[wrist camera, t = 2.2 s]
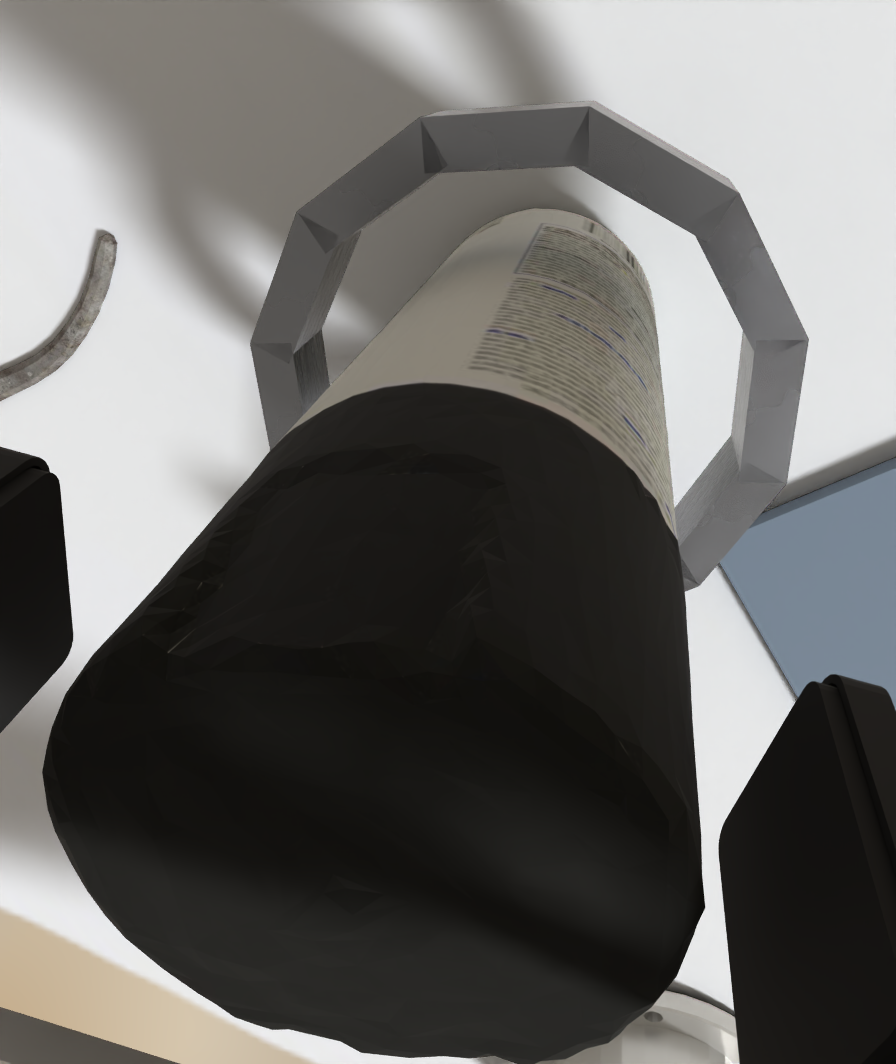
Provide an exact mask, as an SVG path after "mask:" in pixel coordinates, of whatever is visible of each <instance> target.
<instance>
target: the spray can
mask: <svg viewBox="0 0 896 1064" xmlns="http://www.w3.org/2000/svg"><path fill="white" fill-rule="evenodd" d="M42 773H43V780H44V786H45V793H46V800H47V807H48V811H49V814H50V817H51V820H52V823H53V826H54V829H55V832H56V834H57V836H58V838H59V840H60V842H61V844H62V846H63V848H64V850H65V852H66V854H67V856H68V858H69V860H70V862H71V864H72V866H73V867H74V869H75V871H76V872H77V874H78V876H79V877H80V879H81V881H82V883H83V884H84V886H85V888H86V889H87V891H88V892H89V894H90V895H91V896H92V898H93V899H94V901H95V902H96V903H97V905H98V906H99V907H100V909H101V910H102V911H103V913H104V914H105V916H106V917H107V918H108V919H109V920H110V921H111V922H112V923H113V925H114V926H115V927H116V928H117V929H118V930H119V931H120V932H121V934H122V935H123V936H124V937H125V938H126V939H127V940H128V941H130V942H131V943H132V944H133V945H135V946H136V947H137V948H138V949H139V950H141V951H142V952H143V953H144V954H146V955H147V956H148V957H149V958H150V959H152V960H153V961H154V962H155V963H157V964H158V965H159V966H160V967H161V968H163V969H164V970H166V971H167V972H168V973H170V974H171V975H173V976H174V977H176V978H177V979H178V980H180V981H181V982H183V983H184V984H186V985H187V986H188V987H190V988H191V989H193V990H194V991H196V992H197V993H198V994H200V995H202V996H203V997H205V998H207V999H208V1000H210V1001H212V1002H213V1003H215V1004H217V1005H218V1006H219V1007H221V1008H222V1009H224V1010H225V1011H227V1012H228V1013H229V1014H231V1015H232V1016H234V1017H236V1018H239V1019H241V1020H244V1021H247V1022H250V1023H253V1024H256V1025H259V1026H262V1027H265V1028H269V1029H272V1030H279V1029H290V1030H294V1031H299V1032H303V1033H307V1034H312V1035H316V1036H320V1037H324V1038H329V1039H333V1040H337V1041H341V1042H343V1043H344V1044H346V1045H348V1046H350V1047H352V1048H354V1049H356V1050H357V1051H359V1052H361V1053H370V1054H379V1055H388V1056H397V1057H407V1058H415V1057H435V1056H449V1057H461V1058H477V1057H487V1056H497V1057H500V1058H502V1059H505V1060H508V1061H511V1062H514V1063H517V1064H536V1063H538V1062H540V1061H550V1060H563V1059H567V1058H569V1057H571V1056H573V1055H575V1054H577V1053H579V1052H581V1051H583V1050H585V1049H587V1048H591V1047H595V1046H599V1045H603V1044H607V1043H609V1042H610V1041H612V1040H613V1039H614V1038H616V1037H617V1036H618V1035H619V1034H621V1032H622V1031H623V1030H624V1029H625V1028H626V1026H627V1025H628V1024H630V1023H631V1022H633V1021H634V1020H635V1019H637V1018H638V1017H639V1016H641V1015H642V1014H643V1013H645V1012H646V1011H647V1010H649V1009H650V1008H651V1007H652V1006H653V1005H654V1004H655V1003H656V1001H657V1000H658V999H659V998H660V996H661V995H662V994H663V993H664V991H665V990H666V989H667V988H668V986H669V985H670V984H671V983H672V981H673V980H674V979H675V978H676V976H677V974H678V972H679V969H680V967H681V964H682V962H683V959H684V957H685V955H686V952H687V950H688V947H689V945H690V942H691V940H692V938H693V935H694V932H695V929H696V926H697V924H698V922H699V920H700V917H701V915H702V913H703V911H704V909H705V901H704V891H703V880H702V855H701V829H700V816H699V803H698V791H697V778H696V764H695V750H694V737H693V723H692V703H691V682H690V666H689V651H688V636H687V620H686V602H685V592H684V582H683V574H682V566H681V558H680V552H679V545H678V538H677V532H676V521H675V510H674V503H673V489H672V481H671V468H670V459H669V449H668V433H667V428H666V417H665V407H664V395H663V387H662V378H661V367H660V358H659V346H658V337H657V330H656V320H655V310H654V303H653V298H652V294H651V289H650V286H649V283H648V280H647V278H646V276H645V274H644V271H643V269H642V267H641V266H640V264H639V262H638V261H637V259H636V258H635V256H634V255H633V253H632V252H631V251H630V250H629V249H628V247H627V246H626V245H625V244H624V243H623V242H622V241H621V240H620V239H619V238H618V237H617V236H616V235H615V234H613V233H612V232H610V231H609V230H608V229H606V228H605V227H603V226H602V225H600V224H599V223H597V222H595V221H593V220H591V219H589V218H586V217H584V216H581V215H578V214H575V213H571V212H567V211H562V210H557V209H538V208H532V209H527V210H522V211H518V212H515V213H512V214H509V215H505V216H502V217H499V218H497V219H495V220H493V221H491V222H489V223H487V224H486V225H484V226H483V227H481V228H480V229H478V230H477V231H475V232H474V233H472V234H471V235H470V236H469V237H468V238H467V239H466V240H465V241H464V242H462V243H461V244H460V245H459V246H458V247H457V248H456V249H455V251H454V252H453V253H452V254H451V255H450V256H449V257H448V258H447V259H446V261H445V262H444V263H443V264H442V265H441V266H440V267H439V268H438V269H437V270H436V271H435V273H434V274H433V275H432V276H431V277H430V278H429V279H428V280H427V281H426V283H425V284H424V285H423V286H422V287H421V288H420V289H419V290H418V291H417V292H416V293H415V294H414V296H413V297H412V298H411V299H410V300H409V301H408V302H407V303H406V304H405V305H404V306H403V307H402V308H401V310H400V311H399V312H398V313H397V314H396V315H395V316H394V317H393V318H392V319H391V321H390V322H389V323H388V324H387V325H386V326H385V327H384V328H383V330H382V331H381V332H380V333H379V334H378V335H377V336H376V337H375V338H374V339H373V340H372V341H371V342H370V343H369V344H368V345H367V347H366V348H365V349H364V350H363V351H362V352H361V353H360V354H359V355H358V356H357V357H356V358H355V360H354V361H353V362H352V363H351V364H350V365H349V366H348V367H347V368H346V369H345V371H344V372H343V373H342V374H341V375H340V376H339V377H338V378H337V379H336V380H335V381H334V382H333V383H332V384H331V385H330V387H329V388H328V389H327V390H326V391H325V392H324V393H323V394H322V395H321V396H320V398H319V399H318V400H317V401H316V402H315V403H314V404H313V405H312V406H311V407H310V409H309V410H308V411H307V412H306V413H305V414H304V415H303V416H302V417H301V418H300V419H299V420H298V421H297V423H296V424H295V425H294V426H293V427H292V428H291V429H290V430H289V431H288V432H287V433H286V434H285V436H284V437H283V438H282V439H281V440H280V441H279V442H278V443H277V444H276V445H275V446H274V447H273V448H272V450H271V451H270V452H269V453H268V454H267V456H266V457H265V458H264V459H263V461H262V462H261V463H260V464H259V466H258V467H257V468H256V470H255V471H254V472H253V473H252V475H251V476H250V477H249V478H248V479H247V481H246V482H245V483H244V484H243V485H242V486H241V487H240V488H239V490H238V491H237V492H236V493H235V494H234V495H233V496H232V497H231V499H230V500H229V501H228V502H227V503H226V504H225V505H224V506H223V508H222V509H221V510H220V511H219V512H218V513H217V515H216V516H215V517H214V518H213V519H212V521H211V522H210V523H209V524H208V525H207V526H206V528H205V529H204V530H203V531H202V532H201V533H200V535H199V536H198V537H197V538H196V539H195V540H194V542H193V543H192V544H191V545H190V546H189V547H188V548H187V549H186V551H185V552H184V553H183V554H182V555H181V557H180V558H179V559H178V560H177V562H176V563H175V564H174V565H173V566H172V568H171V569H170V570H169V571H168V572H167V574H166V575H165V576H164V577H163V579H162V580H161V581H160V582H159V583H158V585H157V586H156V587H155V588H154V589H153V590H152V591H151V592H150V593H149V595H148V596H147V597H146V598H145V599H144V600H143V601H142V602H141V603H140V604H139V606H138V607H137V608H136V609H135V610H134V611H133V612H132V613H131V614H130V615H129V617H128V618H127V619H126V620H125V621H124V622H123V623H122V624H121V625H120V626H119V628H118V629H117V630H116V631H115V632H114V633H113V634H112V635H111V636H110V637H109V638H108V639H107V640H106V641H105V643H104V644H103V645H102V646H101V647H100V648H99V649H98V650H97V651H96V652H95V653H94V654H93V655H92V657H91V658H90V660H89V661H88V663H87V664H86V665H85V667H84V668H83V670H82V671H81V673H80V674H79V675H78V677H77V678H76V680H75V681H74V683H73V684H72V685H71V687H70V688H69V690H68V691H67V693H66V694H65V697H64V699H63V702H62V704H61V707H60V709H59V711H58V714H57V716H56V719H55V721H54V724H53V726H52V729H51V733H50V737H49V741H48V745H47V749H46V755H45V760H44V766H43V772H42Z"/></svg>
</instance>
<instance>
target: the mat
mask: <svg viewBox="0 0 896 1064" xmlns="http://www.w3.org/2000/svg"><path fill="white" fill-rule="evenodd" d="M720 564H721V566H722V568H723V569H724V571H725V573H726V575H727V576H728V578H729V580H730V581H731V583H732V585H733V587H734V588H735V590H736V592H737V594H738V595H739V597H740V599H741V600H742V602H743V604H744V606H745V607H746V609H747V611H748V613H749V614H750V616H751V618H752V619H753V621H754V623H755V625H756V626H757V628H758V630H759V632H760V633H761V635H762V637H763V639H764V640H765V642H766V644H767V645H768V647H769V649H770V651H771V652H772V654H773V656H774V658H775V659H776V661H777V663H778V664H779V666H780V668H781V670H782V671H783V673H784V675H785V677H786V678H787V680H788V682H789V684H790V685H791V687H792V689H793V690H794V692H795V694H796V696H797V697H799V696H800V694H801V692H802V691H803V689H804V688H805V686H806V685H807V684H808V683H809V682H811V681H816V682H819V683H822V682H823V680H824V679H825V678H826V677H828V676H829V675H830V674H837V675H841V676H845V677H848V678H852V679H856V680H859V681H863V682H867V683H870V684H874V685H878V686H881V687H883V688H885V689H886V690H887V691H888V693H889V695H890V697H891V699H892V702H893V705H894V707H895V710H896V457H895V458H893V459H891V460H888V461H886V462H883V463H881V464H879V465H876V466H874V467H871V468H869V469H867V470H864V471H862V472H859V473H857V474H855V475H852V476H850V477H847V478H845V479H843V480H840V481H838V482H836V483H833V484H831V485H828V486H826V487H824V488H821V489H819V490H816V491H814V492H812V493H809V494H807V495H804V496H802V497H800V498H797V499H795V500H792V501H790V502H788V503H785V504H783V505H781V506H778V507H776V508H773V509H771V510H769V511H766V512H764V513H761V514H760V515H759V517H758V518H757V519H756V520H755V521H754V522H753V524H752V525H751V526H750V527H749V528H748V529H747V531H746V532H745V533H744V534H743V535H742V537H741V538H740V539H739V540H738V541H737V542H736V544H735V545H734V546H733V547H732V548H731V549H730V551H729V552H728V553H727V554H726V555H725V556H724V558H723V559H722V560H721V561H720Z"/></svg>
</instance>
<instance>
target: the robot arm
mask: <svg viewBox="0 0 896 1064" xmlns="http://www.w3.org/2000/svg"><path fill="white" fill-rule="evenodd" d="M72 642H73V627H72V616H71V604H70V593H69V582H68V571H67V559H66V548H65V537H64V526H63V514H62V503H61V492H60V484H59V480H58V478H57V476H56V475H55V474H53V473H50V471H49V467H48V465H47V463H46V462H45V461H44V460H43V459H41V458H39V457H36V456H32V455H28V454H25V453H21V452H17V451H14V450H10V449H6V448H3V447H0V733H1V732H2V731H3V730H4V728H5V727H6V726H7V725H8V724H9V723H10V722H11V721H12V720H13V718H14V717H15V716H16V715H17V714H18V713H19V712H20V711H21V710H22V708H23V707H24V706H25V705H26V704H27V703H28V702H29V701H30V700H31V698H32V697H33V696H34V695H35V694H36V693H37V692H38V691H39V690H40V688H41V687H42V686H43V685H44V684H45V683H46V682H47V681H48V680H49V679H50V677H51V676H52V675H53V674H54V673H55V672H56V671H57V670H58V669H59V667H60V666H61V665H62V664H63V663H64V661H65V660H66V658H67V656H68V654H69V652H70V649H71V647H72ZM719 862H720V872H721V882H722V892H723V902H724V912H725V922H726V932H727V942H728V952H729V962H730V972H731V982H732V992H733V1002H734V1012H735V1017H733V1016H732V1015H730V1014H729V1013H727V1012H725V1011H723V1010H721V1009H719V1008H717V1007H715V1006H713V1005H711V1004H709V1003H706V1002H704V1001H701V1000H698V999H695V998H692V997H690V996H687V995H683V994H679V993H675V992H671V991H666V990H665V991H664V993H663V994H662V995H661V996H660V998H659V999H658V1000H657V1001H656V1003H655V1004H654V1005H653V1006H652V1007H651V1008H650V1009H649V1010H647V1011H646V1012H645V1013H643V1014H642V1015H641V1016H639V1017H638V1018H637V1019H635V1020H634V1021H633V1022H631V1023H630V1024H628V1025H627V1026H626V1028H625V1029H624V1030H623V1031H622V1032H621V1034H619V1035H618V1036H617V1037H616V1038H614V1039H613V1040H612V1041H610V1042H609V1043H607V1044H603V1045H599V1046H595V1047H591V1048H587V1049H585V1050H583V1051H581V1052H579V1053H577V1054H575V1055H573V1056H571V1057H569V1058H567V1059H563V1060H550V1061H540V1062H538V1063H536V1064H896V710H895V707H894V705H893V702H892V699H891V697H890V695H889V693H888V691H887V690H886V689H885V688H883V687H881V686H878V685H874V684H870V683H867V682H863V681H859V680H856V679H852V678H848V677H845V676H841V675H837V674H830V675H829V676H828V677H826V678H825V679H824V680H823V682H822V683H819V682H816V681H811V682H809V683H808V684H807V685H806V686H805V688H804V689H803V691H802V692H801V694H800V696H799V697H798V699H797V701H796V702H795V704H794V706H793V707H792V709H791V711H790V712H789V714H788V716H787V717H786V719H785V721H784V723H783V724H782V726H781V728H780V729H779V731H778V733H777V734H776V736H775V738H774V739H773V741H772V743H771V744H770V746H769V748H768V749H767V751H766V753H765V755H764V756H763V758H762V760H761V761H760V763H759V765H758V766H757V768H756V770H755V771H754V773H753V775H752V776H751V778H750V780H749V781H748V783H747V785H746V787H745V788H744V790H743V792H742V793H741V795H740V797H739V798H738V800H737V802H736V803H735V805H734V807H733V808H732V810H731V812H730V813H729V815H728V817H727V819H726V820H725V822H724V824H723V827H722V830H721V834H720V839H719ZM0 1064H179V1063H175V1062H172V1061H169V1060H166V1059H163V1058H160V1057H157V1056H154V1055H150V1054H147V1053H144V1052H141V1051H138V1050H134V1049H132V1048H128V1047H125V1046H122V1045H119V1044H116V1043H112V1042H109V1041H106V1040H103V1039H100V1038H97V1037H94V1036H90V1035H87V1034H84V1033H81V1032H78V1031H75V1030H72V1029H68V1028H65V1027H62V1026H59V1025H56V1024H53V1023H50V1022H46V1021H43V1020H40V1019H37V1018H33V1017H30V1016H27V1015H24V1014H21V1013H18V1012H14V1011H11V1010H8V1009H5V1008H1V1007H0Z"/></svg>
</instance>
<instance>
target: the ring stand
mask: <svg viewBox="0 0 896 1064" xmlns="http://www.w3.org/2000/svg"><path fill="white" fill-rule="evenodd" d="M565 166H575V167H577V168H579V169H581V170H582V171H584V172H586V173H587V174H589V175H591V176H593V177H594V178H596V179H598V180H600V181H601V182H603V183H605V184H607V185H608V186H610V187H612V188H614V189H615V190H617V191H619V192H621V193H622V194H624V195H626V196H627V197H629V198H631V199H633V200H634V201H636V202H638V203H640V204H641V205H643V206H645V207H647V208H648V209H650V210H652V211H654V212H655V213H657V214H659V215H660V216H662V217H664V218H666V219H667V220H669V221H671V222H673V223H674V224H676V225H678V226H680V227H681V228H683V229H685V230H687V231H688V232H690V233H692V234H694V235H695V236H696V238H697V240H698V242H699V244H700V246H701V248H702V250H703V252H704V254H705V256H706V258H707V260H708V262H709V264H710V266H711V268H712V270H713V272H714V274H715V276H716V278H717V280H718V282H719V284H720V286H721V287H722V289H723V291H724V293H725V295H726V297H727V299H728V301H729V303H730V305H731V307H732V309H733V311H734V313H735V315H736V317H737V319H738V321H739V323H740V325H741V327H742V329H743V334H742V343H741V352H740V361H739V370H738V379H737V388H736V397H735V406H734V414H733V423H732V432H731V436H730V438H729V439H728V440H727V441H726V443H725V444H724V445H723V447H722V448H721V449H720V450H719V452H718V453H717V454H716V456H715V457H714V458H713V459H712V461H711V462H710V463H709V465H708V466H707V467H706V469H705V470H704V471H703V472H702V474H701V475H700V476H699V478H698V479H697V480H696V481H695V483H694V484H693V485H692V487H691V488H690V489H689V490H688V492H687V493H686V494H685V496H684V497H683V498H682V499H681V501H680V502H679V503H678V505H677V506H676V507H675V509H674V510H675V521H676V532H677V538H678V545H679V552H680V558H681V566H682V574H683V582H684V592H685V591H688V590H690V589H693V588H695V587H698V586H700V585H701V583H702V582H703V581H704V580H705V579H706V578H707V576H708V575H709V574H710V573H711V572H712V570H713V569H714V568H715V567H716V566H717V565H718V563H719V562H720V561H721V560H722V559H723V558H724V556H725V555H726V554H727V553H728V552H729V551H730V549H731V548H732V547H733V546H734V545H735V544H736V542H737V541H738V540H739V539H740V538H741V537H742V535H743V534H744V533H745V532H746V531H747V529H748V528H749V527H750V526H751V525H752V524H753V522H754V521H755V520H756V519H757V518H758V517H759V515H760V514H761V513H762V512H763V511H764V510H765V508H766V507H767V506H768V505H769V504H770V503H771V501H772V500H773V499H774V498H775V497H776V496H777V494H778V493H779V492H780V491H781V490H782V489H783V487H784V486H785V485H786V483H787V478H788V471H789V465H790V458H791V452H792V445H793V439H794V432H795V426H796V419H797V413H798V406H799V400H800V393H801V387H802V380H803V374H804V367H805V361H806V354H807V348H808V341H809V339H808V337H807V334H806V332H805V330H804V328H803V326H802V324H801V322H800V320H799V318H798V316H797V313H796V311H795V309H794V307H793V305H792V303H791V301H790V299H789V297H788V294H787V292H786V290H785V288H784V286H783V284H782V282H781V280H780V278H779V276H778V273H777V271H776V269H775V267H774V265H773V263H772V261H771V259H770V257H769V255H768V252H767V250H766V248H765V246H764V244H763V242H762V240H761V238H760V236H759V234H758V231H757V229H756V227H755V225H754V223H753V221H752V219H751V217H750V215H749V212H748V210H747V208H746V206H745V204H744V202H743V200H742V198H741V196H740V194H739V192H738V191H737V189H736V188H735V187H734V185H733V184H732V182H731V181H730V180H729V179H728V178H726V177H725V176H723V175H721V174H720V173H718V172H716V171H714V170H713V169H711V168H709V167H708V166H706V165H704V164H702V163H701V162H699V161H697V160H696V159H694V158H692V157H690V156H689V155H687V154H685V153H684V152H682V151H680V150H678V149H677V148H675V147H673V146H672V145H670V144H668V143H666V142H665V141H663V140H661V139H660V138H658V137H656V136H654V135H653V134H651V133H649V132H647V131H646V130H644V129H642V128H641V127H639V126H637V125H635V124H634V123H632V122H630V121H629V120H627V119H625V118H623V117H622V116H620V115H618V114H617V113H615V112H613V111H611V110H610V109H608V108H606V107H605V106H603V105H601V104H599V103H598V102H596V101H582V102H567V103H552V104H537V105H522V106H507V107H492V108H476V109H461V110H446V111H439V112H436V113H432V114H429V115H426V116H422V117H419V118H418V119H417V120H415V121H414V122H413V123H412V124H410V125H409V126H408V127H406V128H405V129H404V130H402V131H401V132H400V133H399V134H397V135H396V136H395V137H393V138H392V139H391V140H389V141H388V142H387V143H386V144H384V145H383V146H382V147H380V148H379V149H378V150H376V151H375V152H374V153H373V154H371V155H370V156H369V157H367V158H366V159H365V160H363V161H362V162H361V163H359V164H358V165H357V166H356V167H354V168H353V169H352V170H350V171H349V172H348V173H346V174H345V175H344V176H343V177H341V178H340V179H339V180H337V181H336V182H335V183H333V184H332V185H331V186H330V187H328V188H327V189H326V190H324V191H323V192H322V193H320V194H319V195H318V196H317V197H315V198H314V199H313V200H311V201H310V202H309V203H307V204H306V205H305V206H303V207H302V208H301V209H300V210H298V211H297V212H296V215H295V218H294V221H293V224H292V226H291V229H290V232H289V235H288V238H287V240H286V243H285V246H284V249H283V252H282V255H281V257H280V260H279V263H278V266H277V269H276V271H275V274H274V277H273V280H272V283H271V286H270V288H269V291H268V294H267V297H266V300H265V302H264V305H263V308H262V311H261V314H260V317H259V319H258V322H257V325H256V328H255V331H254V333H253V336H252V339H251V342H250V346H251V351H252V356H253V361H254V367H255V372H256V377H257V382H258V388H259V393H260V398H261V404H262V409H263V414H264V419H265V425H266V430H267V435H268V440H269V446H270V451H271V450H272V448H273V447H274V446H275V445H276V444H277V443H278V442H279V441H280V440H281V439H282V438H283V437H284V436H285V434H286V433H287V432H288V431H289V430H290V429H291V428H292V427H293V426H294V425H295V424H296V423H297V421H298V420H299V419H300V418H301V417H302V416H303V415H304V414H305V413H306V412H307V411H308V410H309V409H310V407H311V406H312V405H313V404H314V403H315V402H316V401H317V400H318V399H319V398H320V396H321V395H322V394H323V393H324V392H325V391H326V390H327V389H328V388H329V387H330V384H329V377H328V370H327V364H326V357H325V350H324V343H323V336H322V327H323V325H324V322H325V320H326V317H327V315H328V312H329V310H330V307H331V305H332V302H333V300H334V297H335V295H336V292H337V290H338V287H339V285H340V283H341V280H342V278H343V275H344V273H345V270H346V268H347V265H348V263H349V260H350V258H351V255H352V253H353V250H354V248H355V245H356V243H357V241H358V238H359V236H360V233H361V231H362V229H364V228H365V227H366V226H368V225H369V224H371V223H372V222H373V221H375V220H376V219H377V218H379V217H380V216H382V215H383V214H384V213H386V212H387V211H389V210H390V209H391V208H393V207H394V206H395V205H397V204H398V203H400V202H401V201H402V200H404V199H405V198H407V197H408V196H409V195H411V194H412V193H413V192H415V191H416V190H418V189H419V188H420V187H422V186H423V185H425V184H426V183H427V182H429V181H430V180H431V179H433V178H434V177H436V176H437V175H438V174H440V173H446V172H466V171H486V170H506V169H525V168H545V167H565Z"/></svg>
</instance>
